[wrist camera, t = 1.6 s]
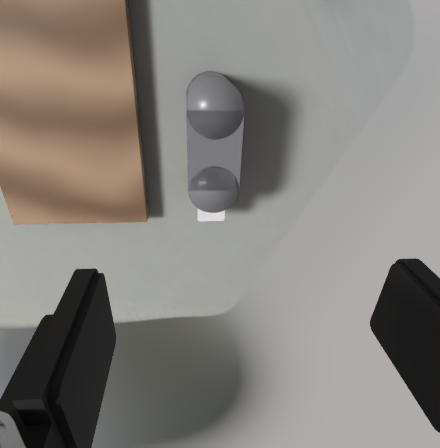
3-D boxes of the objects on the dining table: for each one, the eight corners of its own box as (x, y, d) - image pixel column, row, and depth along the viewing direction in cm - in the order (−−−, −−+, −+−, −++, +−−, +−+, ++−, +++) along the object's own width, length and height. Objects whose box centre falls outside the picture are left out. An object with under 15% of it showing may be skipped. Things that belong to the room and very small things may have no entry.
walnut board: (-70, -58, 20) (-88, -65, 19) (123, -47, 21) (119, -52, 20) (21, 216, 30) (13, 224, 29) (148, 214, 31) (146, 221, 30)
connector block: (185, 70, 25) (185, 78, 20) (235, 71, 26) (246, 79, 21) (188, 204, 31) (189, 234, 26) (228, 203, 32) (236, 232, 27)
